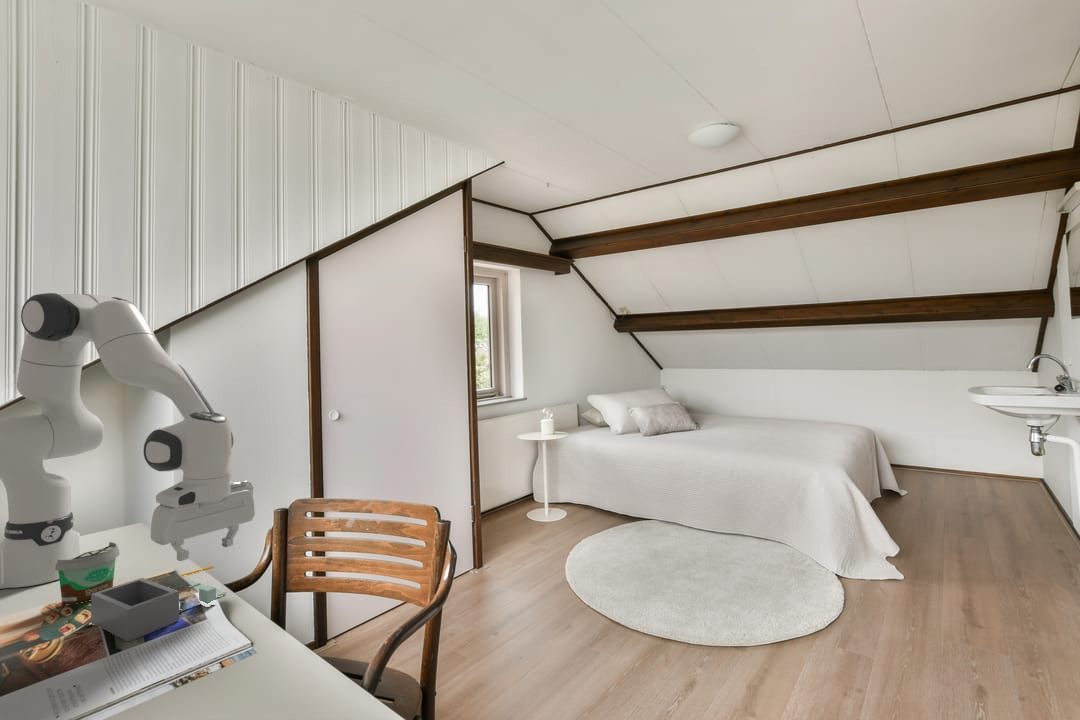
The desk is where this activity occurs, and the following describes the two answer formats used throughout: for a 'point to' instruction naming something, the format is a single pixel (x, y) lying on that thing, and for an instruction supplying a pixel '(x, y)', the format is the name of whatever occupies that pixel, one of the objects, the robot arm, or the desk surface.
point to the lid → (205, 592)
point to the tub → (134, 608)
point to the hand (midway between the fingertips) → (205, 552)
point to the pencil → (198, 570)
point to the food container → (87, 574)
